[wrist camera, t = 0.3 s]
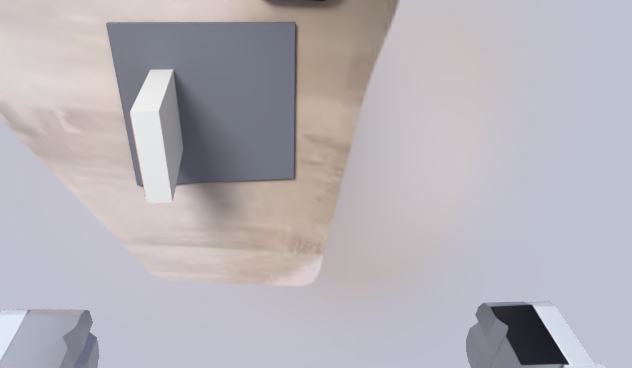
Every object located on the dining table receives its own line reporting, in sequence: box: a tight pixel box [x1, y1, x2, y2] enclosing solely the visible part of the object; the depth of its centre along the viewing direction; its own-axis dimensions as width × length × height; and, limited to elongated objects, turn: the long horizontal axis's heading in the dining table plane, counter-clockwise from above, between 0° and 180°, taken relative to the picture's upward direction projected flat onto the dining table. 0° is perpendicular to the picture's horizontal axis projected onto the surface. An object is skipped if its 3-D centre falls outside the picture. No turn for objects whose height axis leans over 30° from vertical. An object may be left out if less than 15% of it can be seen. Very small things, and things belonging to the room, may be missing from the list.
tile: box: [130, 69, 183, 203], centre depth 51 cm, size 10×3×12 cm, turn 179°
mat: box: [106, 22, 295, 185], centre depth 57 cm, size 20×20×1 cm
